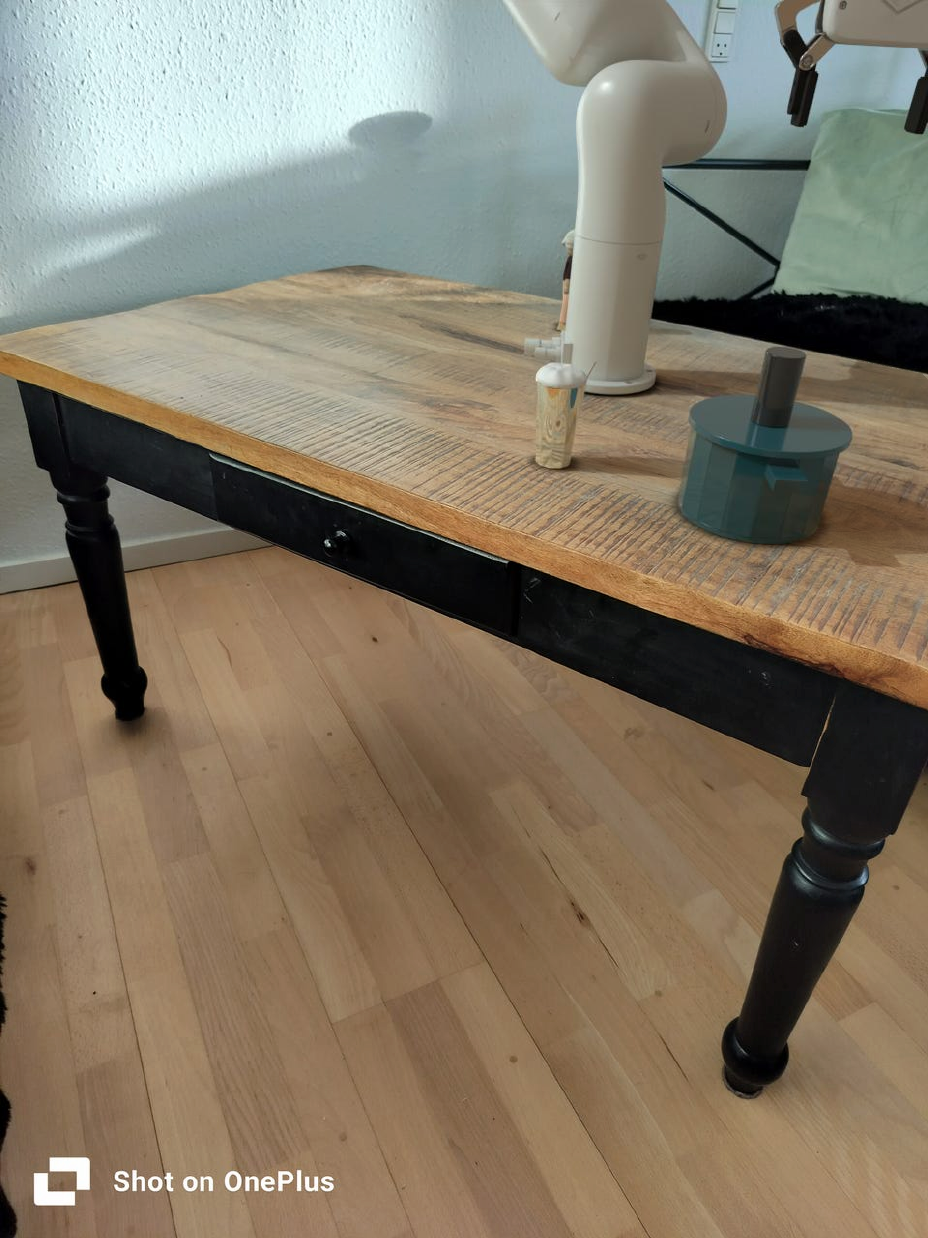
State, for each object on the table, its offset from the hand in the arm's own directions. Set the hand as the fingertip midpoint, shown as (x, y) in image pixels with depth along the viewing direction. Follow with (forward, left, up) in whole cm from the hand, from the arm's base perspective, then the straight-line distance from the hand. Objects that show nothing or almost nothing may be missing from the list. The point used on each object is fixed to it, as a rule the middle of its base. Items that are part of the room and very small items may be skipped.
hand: (855, 129), depth 73 cm
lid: (-7, -18, -20) cm, 28 cm away
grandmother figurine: (-20, +38, -28) cm, 51 cm away
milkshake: (-23, -10, -28) cm, 37 cm away
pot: (-7, -18, -28) cm, 34 cm away
